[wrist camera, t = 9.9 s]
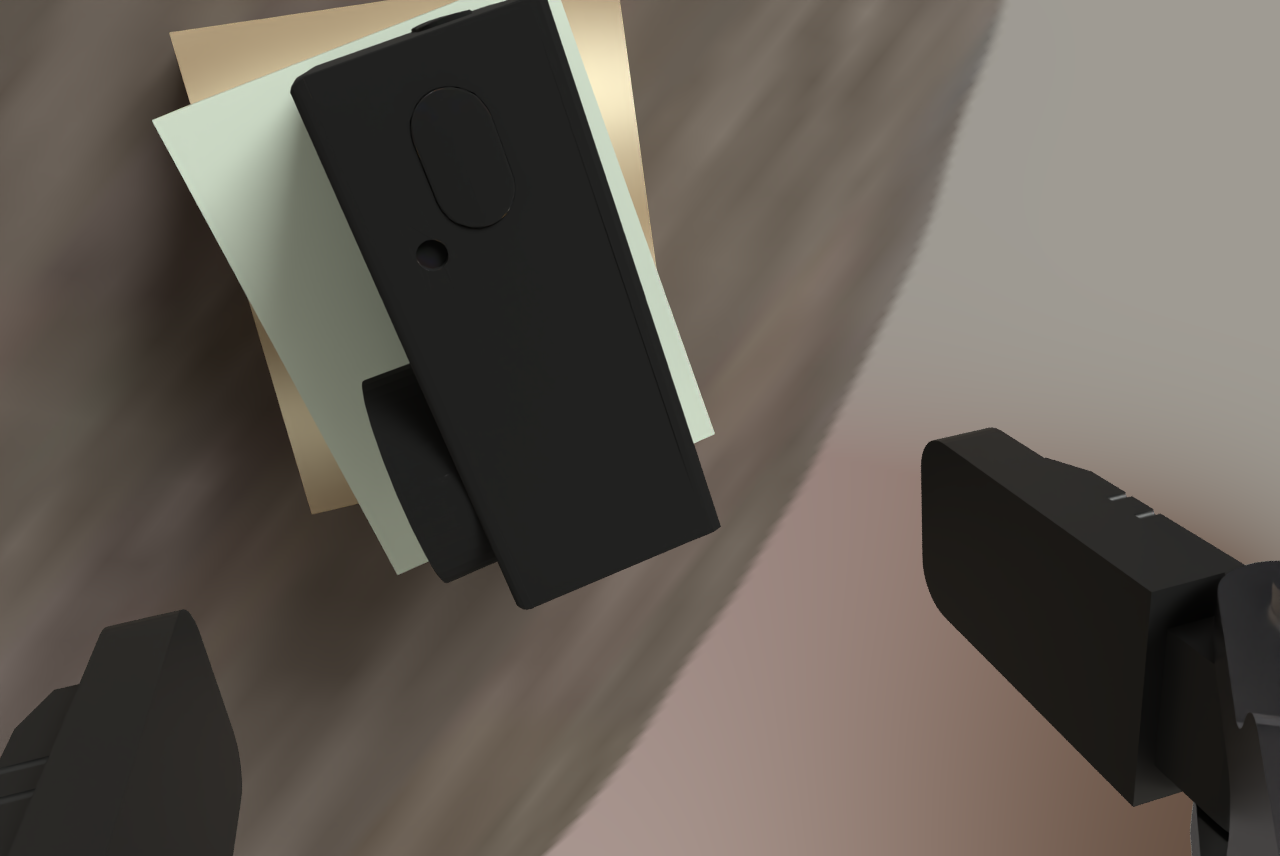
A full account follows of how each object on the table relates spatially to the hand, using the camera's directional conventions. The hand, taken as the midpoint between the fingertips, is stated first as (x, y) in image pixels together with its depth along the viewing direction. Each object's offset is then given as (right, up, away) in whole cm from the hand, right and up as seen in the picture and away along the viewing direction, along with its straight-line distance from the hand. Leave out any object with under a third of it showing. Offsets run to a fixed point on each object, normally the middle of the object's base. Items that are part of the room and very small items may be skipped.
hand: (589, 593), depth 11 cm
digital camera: (-4, +6, +13) cm, 15 cm away
